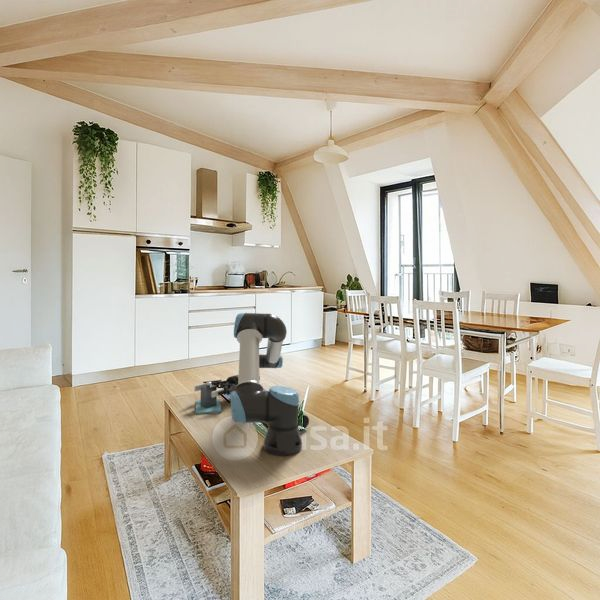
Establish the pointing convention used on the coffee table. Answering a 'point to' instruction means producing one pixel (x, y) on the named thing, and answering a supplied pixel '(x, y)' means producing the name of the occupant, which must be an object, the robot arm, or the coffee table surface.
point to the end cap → (305, 421)
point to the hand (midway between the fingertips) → (203, 391)
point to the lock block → (208, 395)
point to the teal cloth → (208, 410)
